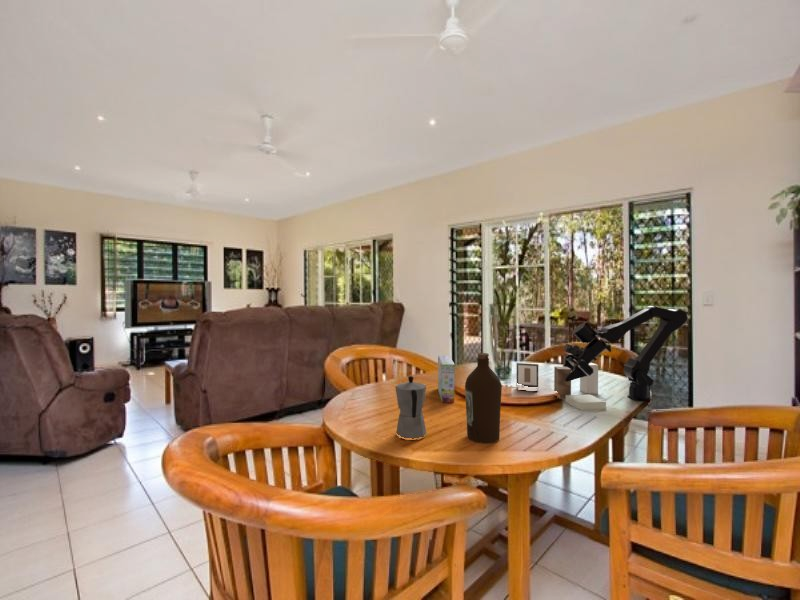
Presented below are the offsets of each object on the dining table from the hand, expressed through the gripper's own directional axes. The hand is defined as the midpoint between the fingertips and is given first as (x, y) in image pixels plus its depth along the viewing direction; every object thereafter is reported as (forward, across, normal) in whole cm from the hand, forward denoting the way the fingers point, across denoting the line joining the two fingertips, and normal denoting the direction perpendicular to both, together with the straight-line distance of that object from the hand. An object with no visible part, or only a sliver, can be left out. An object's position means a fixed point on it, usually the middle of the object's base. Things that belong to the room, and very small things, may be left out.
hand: (562, 378), depth 157 cm
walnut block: (+5, 0, +6) cm, 8 cm away
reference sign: (+14, -11, -2) cm, 18 cm away
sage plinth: (+2, +10, +10) cm, 14 cm away
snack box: (+39, 0, -27) cm, 47 cm away
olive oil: (+32, +45, -20) cm, 59 cm away
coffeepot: (+47, +47, -35) cm, 75 cm away
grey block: (-4, -9, +15) cm, 18 cm away
